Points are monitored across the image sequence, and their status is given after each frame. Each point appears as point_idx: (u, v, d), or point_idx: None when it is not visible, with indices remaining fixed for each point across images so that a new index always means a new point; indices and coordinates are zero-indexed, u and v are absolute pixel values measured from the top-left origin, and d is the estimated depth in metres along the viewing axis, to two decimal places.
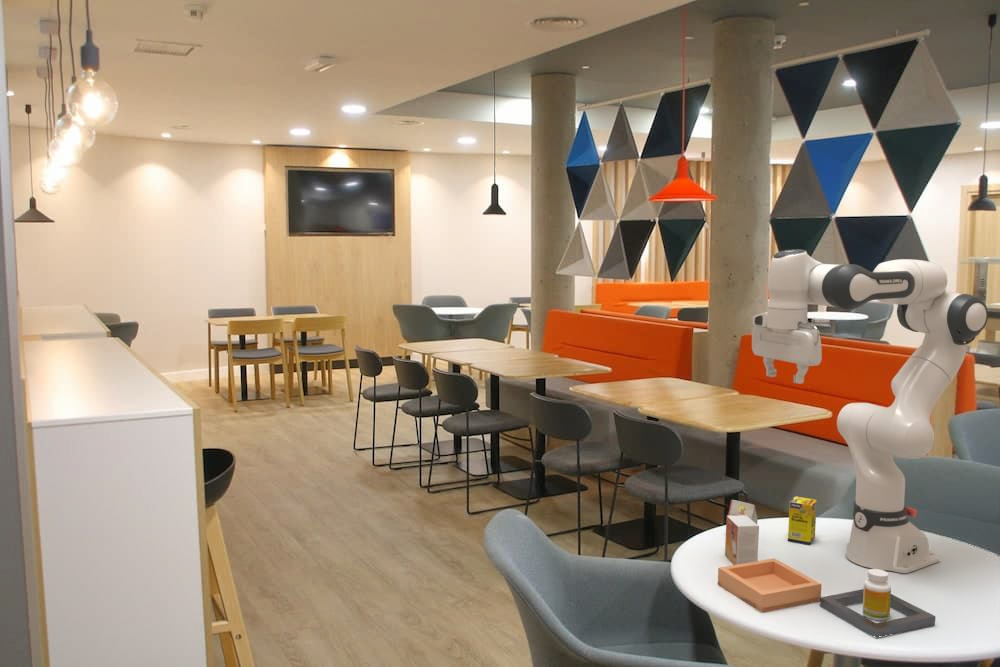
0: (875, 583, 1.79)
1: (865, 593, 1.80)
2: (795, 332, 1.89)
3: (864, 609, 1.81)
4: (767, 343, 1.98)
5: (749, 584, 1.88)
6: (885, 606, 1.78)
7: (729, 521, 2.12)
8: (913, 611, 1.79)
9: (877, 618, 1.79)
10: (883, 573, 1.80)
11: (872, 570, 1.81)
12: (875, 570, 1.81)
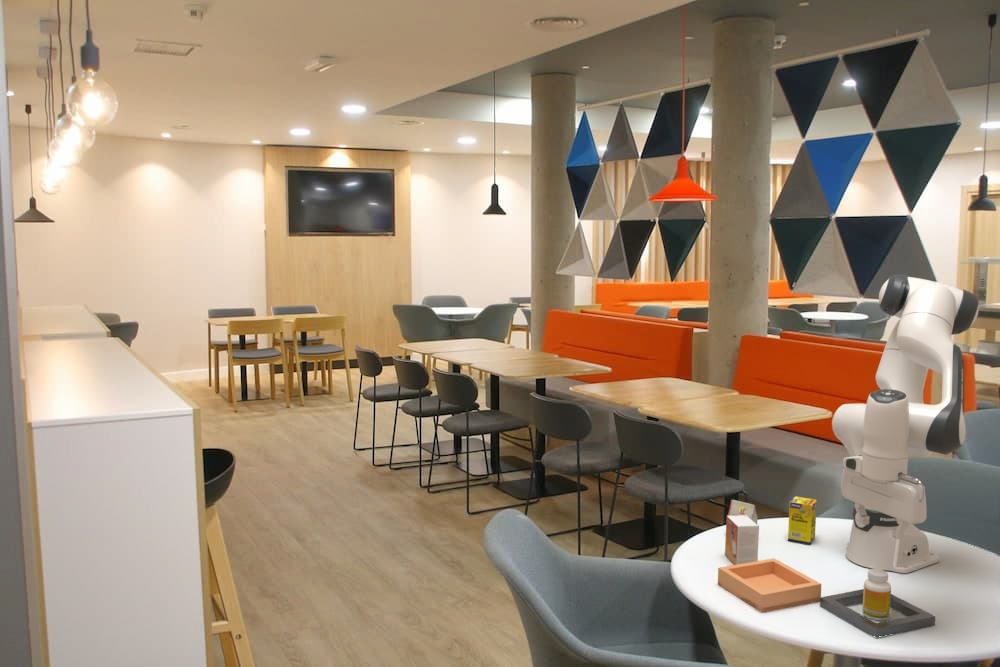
0: (875, 583, 1.79)
1: (865, 593, 1.80)
2: (896, 484, 1.72)
3: (864, 609, 1.81)
4: (860, 489, 1.81)
5: (749, 584, 1.88)
6: (885, 606, 1.78)
7: (729, 521, 2.12)
8: (913, 611, 1.79)
9: (877, 618, 1.79)
10: (883, 573, 1.80)
11: (872, 570, 1.81)
12: (875, 570, 1.81)
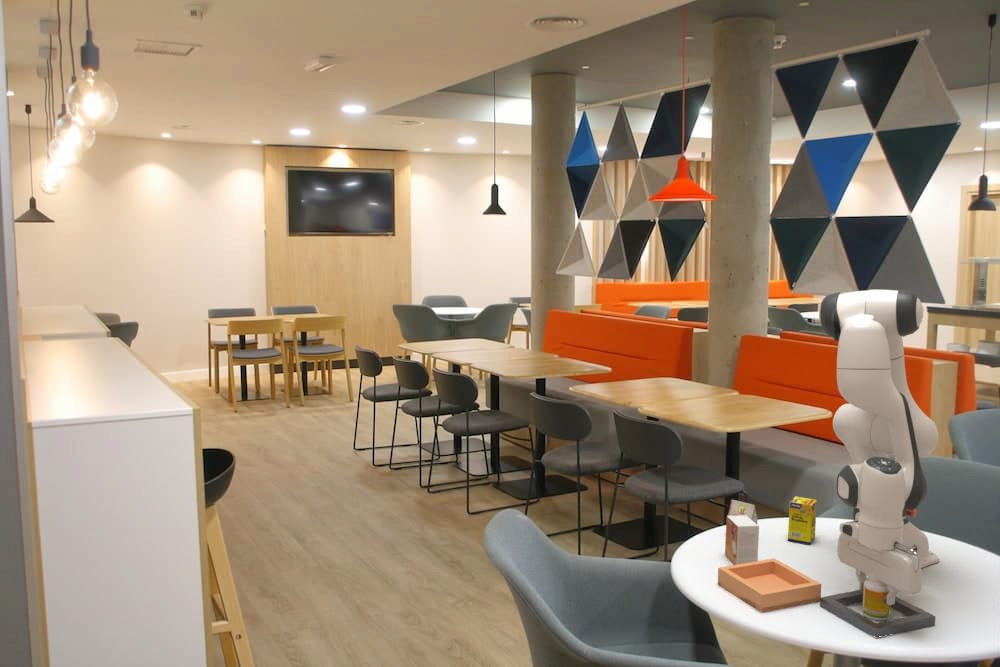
0: (875, 583, 1.79)
1: (865, 593, 1.80)
2: (891, 554, 1.74)
3: (864, 608, 1.81)
4: (857, 555, 1.83)
5: (749, 584, 1.88)
6: (885, 605, 1.78)
7: (729, 521, 2.12)
8: (913, 611, 1.79)
9: (877, 618, 1.79)
10: None
11: None
12: None
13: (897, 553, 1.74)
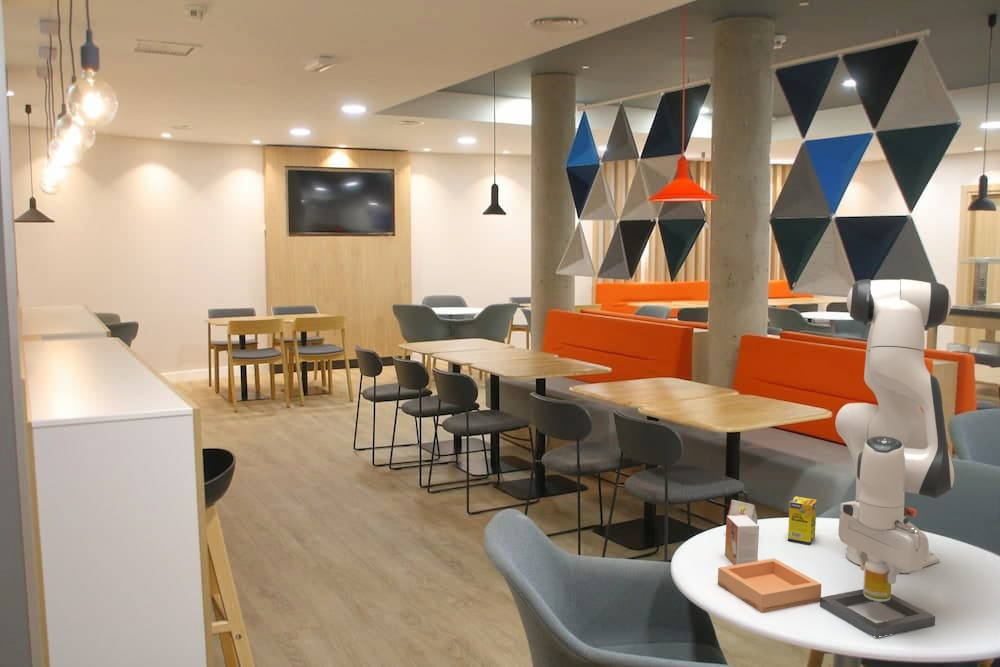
0: (875, 564, 1.79)
1: (866, 574, 1.80)
2: (892, 533, 1.74)
3: (865, 590, 1.81)
4: (858, 535, 1.83)
5: (749, 584, 1.88)
6: (886, 587, 1.78)
7: (729, 521, 2.12)
8: (913, 611, 1.79)
9: (878, 599, 1.79)
10: None
11: None
12: None
13: (898, 532, 1.73)
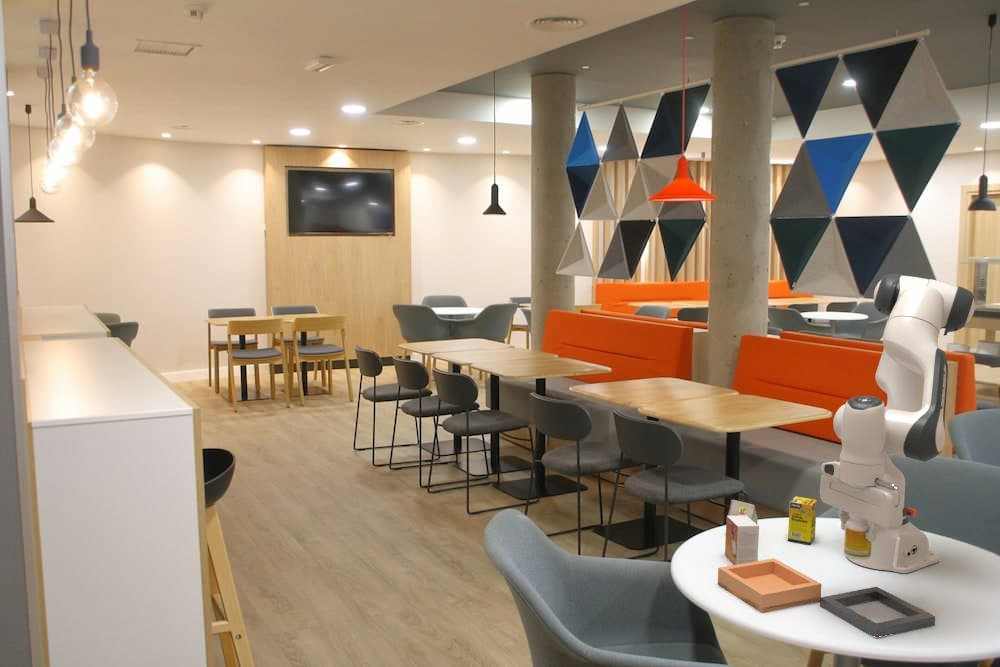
0: (856, 522, 1.80)
1: (846, 533, 1.81)
2: (872, 490, 1.75)
3: (846, 548, 1.82)
4: (839, 494, 1.84)
5: (749, 584, 1.88)
6: (866, 545, 1.79)
7: (729, 521, 2.12)
8: (913, 611, 1.79)
9: (858, 557, 1.80)
10: None
11: None
12: None
13: (878, 489, 1.74)
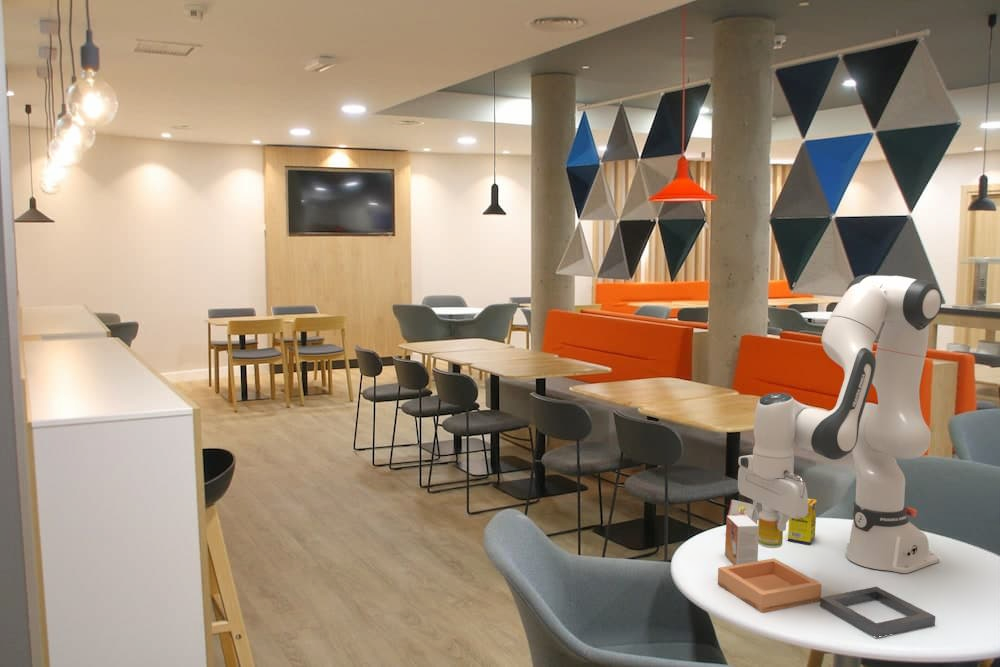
0: (767, 513, 1.89)
1: (759, 523, 1.91)
2: (781, 482, 1.84)
3: (758, 538, 1.91)
4: (753, 486, 1.94)
5: (749, 584, 1.88)
6: (776, 534, 1.89)
7: (729, 521, 2.12)
8: (913, 611, 1.79)
9: (769, 546, 1.89)
10: None
11: None
12: None
13: (786, 480, 1.84)
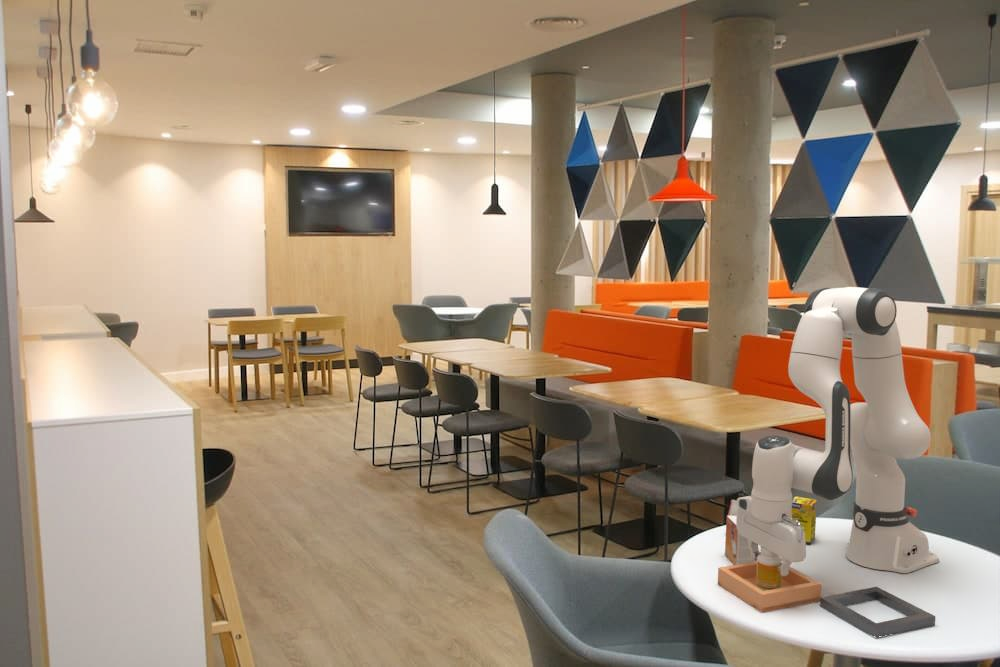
0: (766, 557, 1.91)
1: (758, 567, 1.92)
2: (779, 525, 1.86)
3: (757, 581, 1.93)
4: (752, 528, 1.95)
5: (749, 584, 1.88)
6: (775, 578, 1.90)
7: (729, 521, 2.12)
8: (913, 611, 1.79)
9: None
10: None
11: None
12: None
13: (784, 524, 1.85)
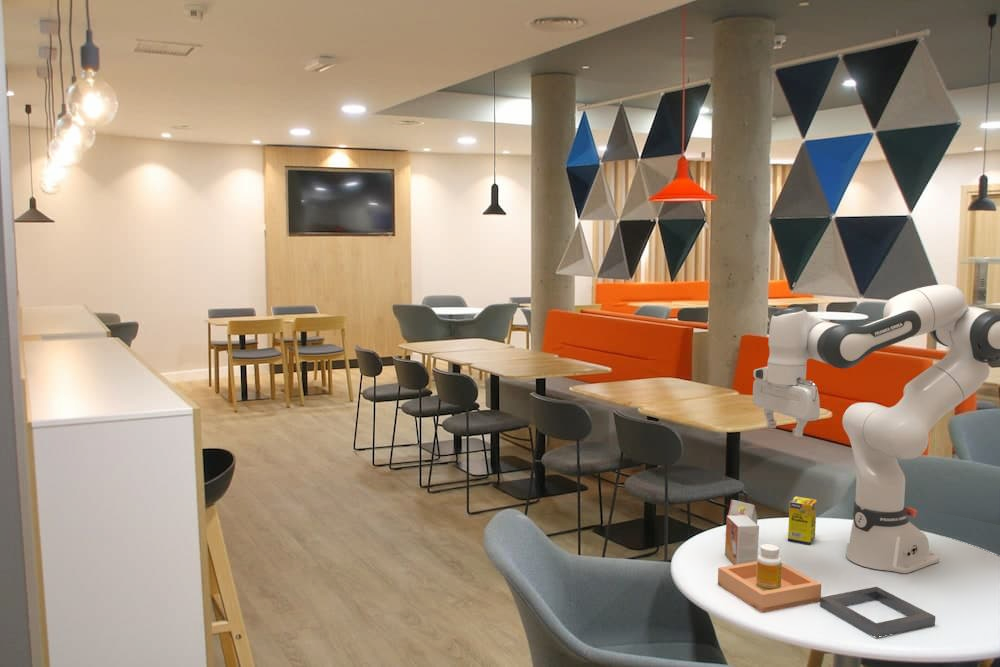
0: (766, 557, 1.91)
1: (758, 567, 1.92)
2: (794, 388, 1.97)
3: (757, 581, 1.93)
4: (768, 396, 2.06)
5: (749, 584, 1.88)
6: (775, 578, 1.90)
7: (729, 521, 2.12)
8: (913, 611, 1.79)
9: None
10: (774, 547, 1.92)
11: (765, 545, 1.93)
12: (768, 545, 1.93)
13: (799, 386, 1.96)
